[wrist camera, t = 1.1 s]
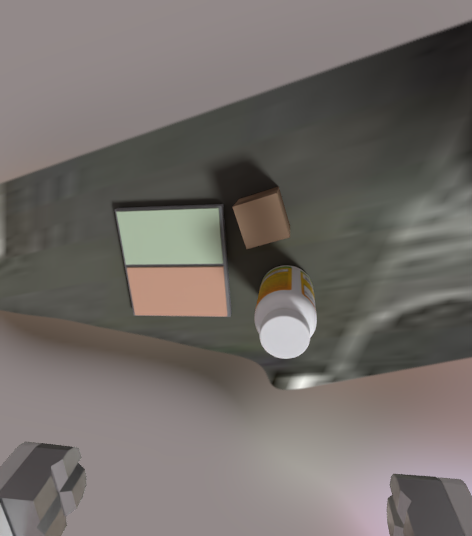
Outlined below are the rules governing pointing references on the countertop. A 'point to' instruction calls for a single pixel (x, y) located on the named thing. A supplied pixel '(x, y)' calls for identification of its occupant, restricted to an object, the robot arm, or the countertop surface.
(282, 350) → the supplement bottle
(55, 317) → the countertop surface
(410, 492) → the robot arm
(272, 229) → the walnut block
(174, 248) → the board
